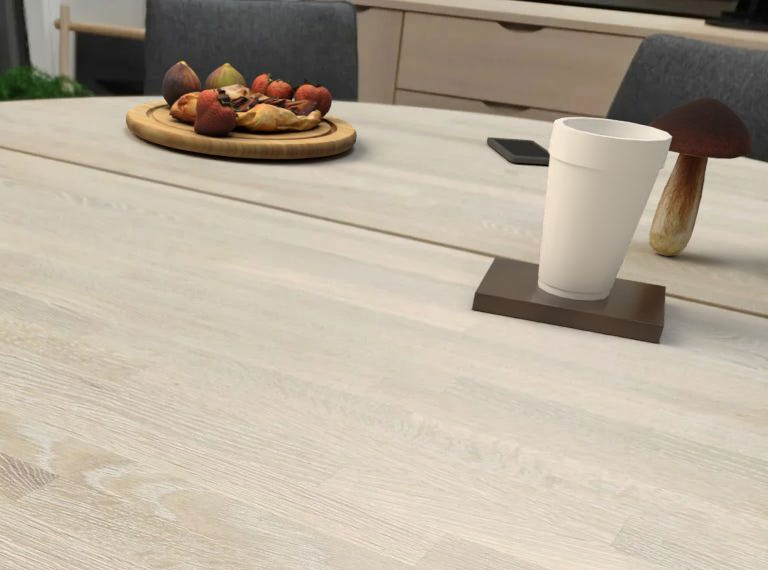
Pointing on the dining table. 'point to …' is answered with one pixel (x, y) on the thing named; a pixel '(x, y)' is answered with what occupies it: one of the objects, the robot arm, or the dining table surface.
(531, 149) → the cell phone
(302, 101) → the wooden plate
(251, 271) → the dining table surface
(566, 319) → the walnut board
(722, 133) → the decorative mushroom
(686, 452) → the dining table surface
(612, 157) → the foam cup
